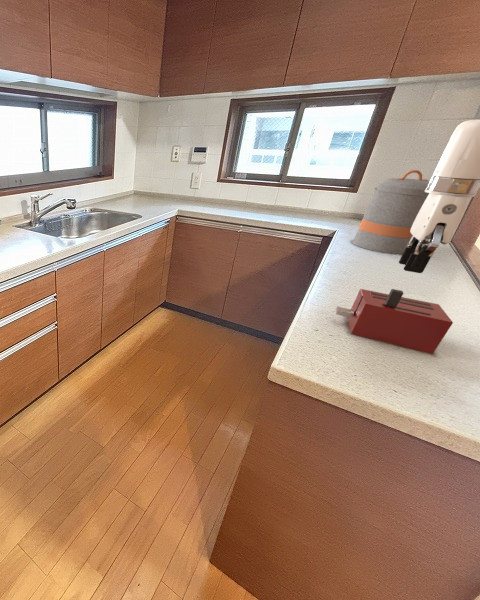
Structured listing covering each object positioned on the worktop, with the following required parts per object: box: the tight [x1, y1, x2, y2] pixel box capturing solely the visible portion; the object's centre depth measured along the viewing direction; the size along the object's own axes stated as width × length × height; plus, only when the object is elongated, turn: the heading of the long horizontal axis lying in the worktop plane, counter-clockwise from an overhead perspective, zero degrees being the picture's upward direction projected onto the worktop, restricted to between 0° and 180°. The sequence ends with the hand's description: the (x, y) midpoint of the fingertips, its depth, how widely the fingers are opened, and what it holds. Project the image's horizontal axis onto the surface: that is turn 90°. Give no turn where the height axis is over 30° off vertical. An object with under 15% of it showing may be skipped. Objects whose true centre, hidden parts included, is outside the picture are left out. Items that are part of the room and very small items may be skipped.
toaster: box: [347, 288, 454, 355], centre depth 84 cm, size 16×11×9 cm
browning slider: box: [385, 288, 404, 308], centre depth 80 cm, size 2×2×4 cm
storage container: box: [352, 169, 430, 255], centre depth 150 cm, size 22×22×35 cm
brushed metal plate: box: [335, 306, 354, 318], centre depth 89 cm, size 4×3×1 cm
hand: (409, 267), depth 76 cm, fingers open, 4 cm apart
